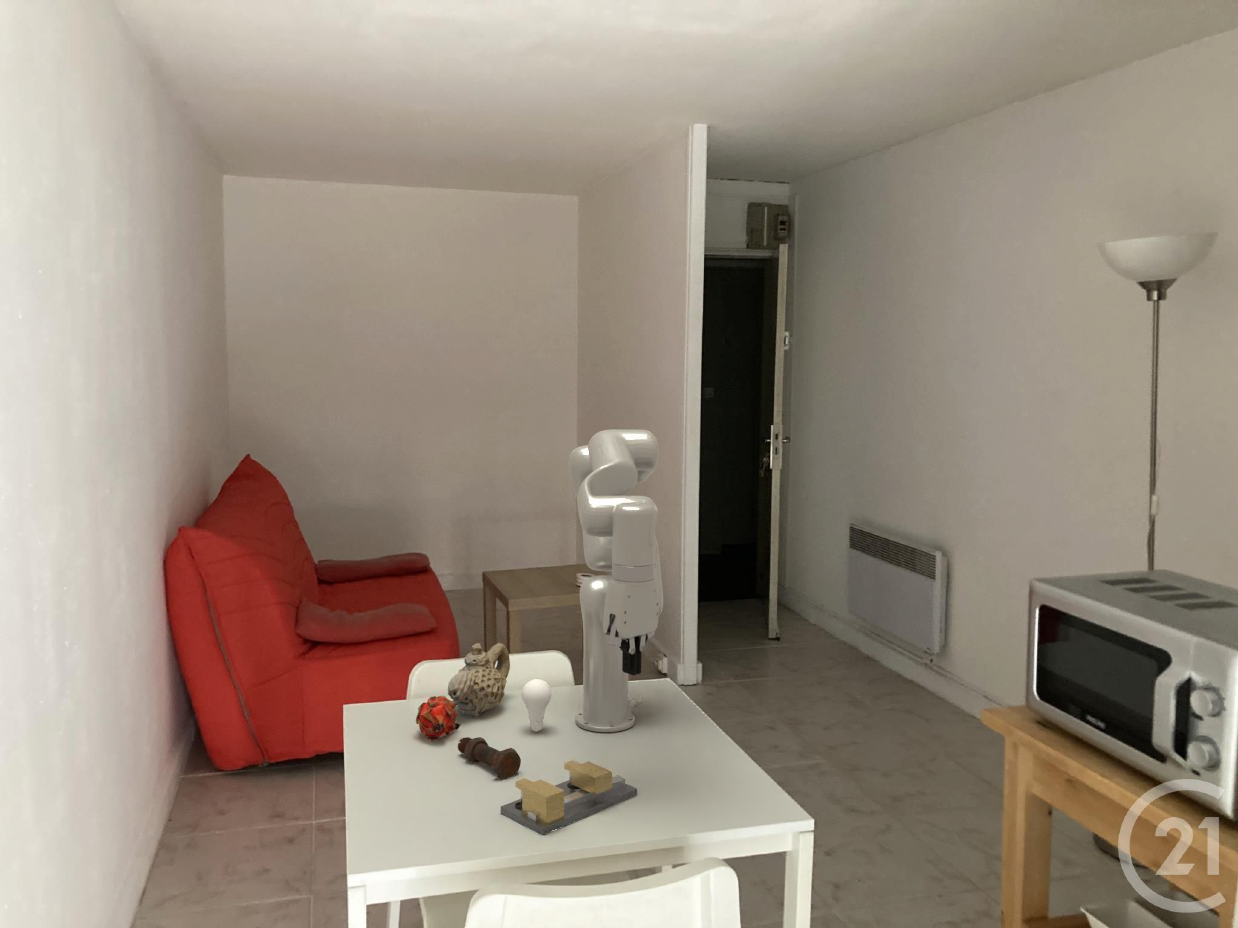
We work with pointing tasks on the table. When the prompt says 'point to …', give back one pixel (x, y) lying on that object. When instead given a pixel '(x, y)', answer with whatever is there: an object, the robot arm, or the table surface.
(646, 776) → the table surface
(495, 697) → the teapot
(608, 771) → the block
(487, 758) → the bolt
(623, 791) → the hole plate
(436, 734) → the dragon fruit
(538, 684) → the lightbulb
